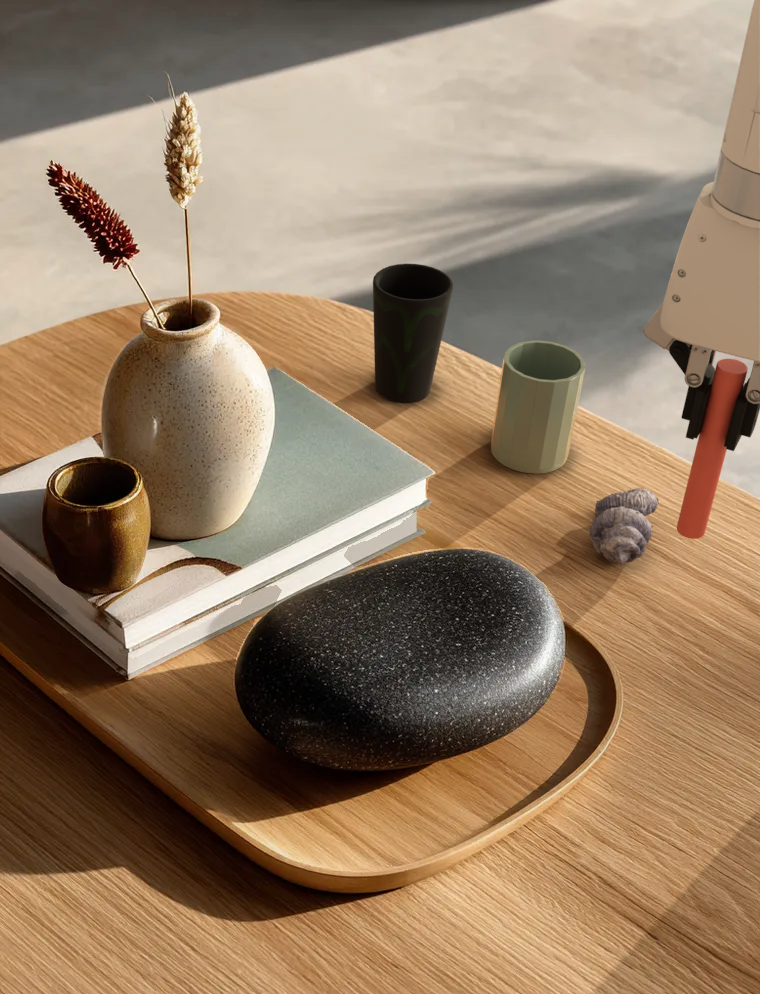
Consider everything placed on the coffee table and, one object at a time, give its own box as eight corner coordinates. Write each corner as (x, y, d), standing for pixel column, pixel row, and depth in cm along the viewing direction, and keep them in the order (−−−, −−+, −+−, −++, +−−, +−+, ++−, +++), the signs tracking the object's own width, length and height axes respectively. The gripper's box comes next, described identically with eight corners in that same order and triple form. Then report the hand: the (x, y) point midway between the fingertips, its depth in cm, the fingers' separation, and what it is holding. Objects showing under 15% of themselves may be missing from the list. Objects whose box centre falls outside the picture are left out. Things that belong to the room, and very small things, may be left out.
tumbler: (577, 444, 127) (595, 353, 121) (552, 482, 122) (569, 390, 116) (507, 422, 130) (521, 333, 124) (479, 458, 125) (492, 367, 119)
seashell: (612, 519, 120) (610, 593, 112) (582, 477, 118) (578, 549, 110) (667, 498, 117) (669, 572, 110) (638, 454, 115) (638, 526, 108)
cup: (403, 360, 139) (413, 255, 132) (456, 391, 135) (470, 285, 127) (349, 384, 135) (356, 278, 128) (401, 417, 131) (412, 309, 123)
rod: (707, 527, 98) (751, 363, 89) (700, 542, 96) (743, 376, 88) (680, 519, 98) (721, 355, 90) (673, 533, 97) (713, 368, 89)
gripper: (926, 190, 81) (844, 440, 92) (666, 138, 87) (619, 379, 98) (906, 237, 75) (822, 497, 87) (632, 179, 82) (586, 429, 93)
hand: (715, 433), depth 92 cm, fingers closed on rod, 2 cm apart
